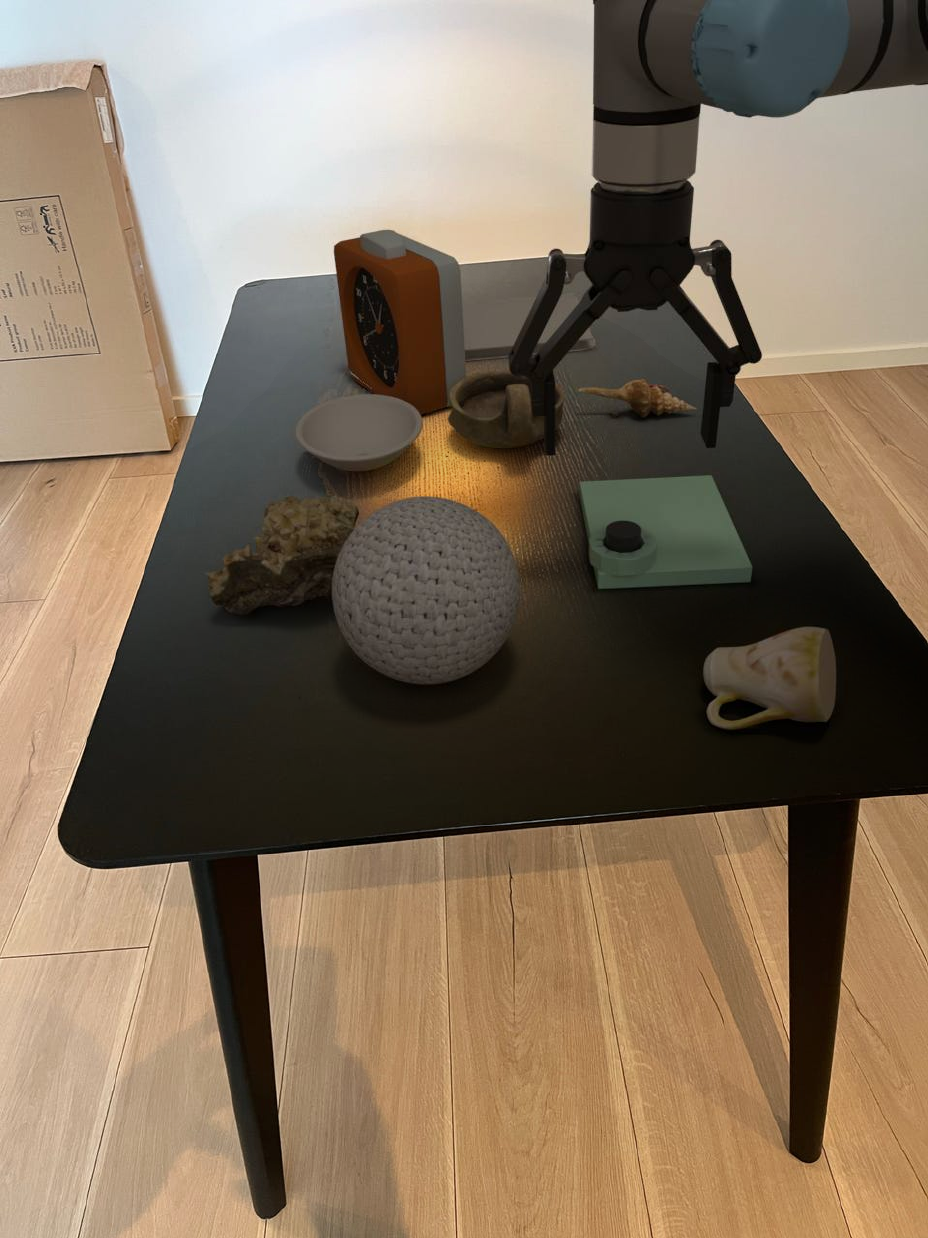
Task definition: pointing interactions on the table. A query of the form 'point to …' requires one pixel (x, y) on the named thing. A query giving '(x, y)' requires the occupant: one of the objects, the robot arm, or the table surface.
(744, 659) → the mug
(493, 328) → the book
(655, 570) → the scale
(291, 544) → the mineral specimen
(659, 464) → the table surface
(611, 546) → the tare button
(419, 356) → the alarm clock
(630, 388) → the spiral seashell
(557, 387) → the bowl
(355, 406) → the dish
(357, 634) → the decorative ball
